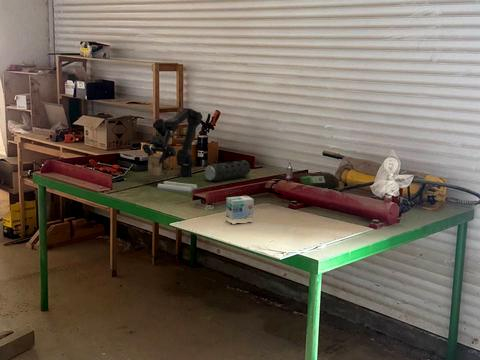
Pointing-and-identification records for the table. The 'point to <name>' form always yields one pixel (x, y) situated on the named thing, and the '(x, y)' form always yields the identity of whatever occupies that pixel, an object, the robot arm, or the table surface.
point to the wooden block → (154, 165)
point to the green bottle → (316, 179)
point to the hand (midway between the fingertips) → (153, 162)
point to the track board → (177, 187)
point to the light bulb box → (239, 207)
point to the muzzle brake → (227, 170)
